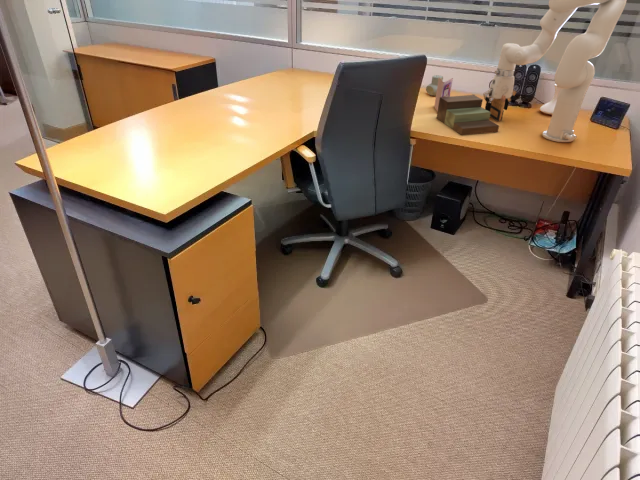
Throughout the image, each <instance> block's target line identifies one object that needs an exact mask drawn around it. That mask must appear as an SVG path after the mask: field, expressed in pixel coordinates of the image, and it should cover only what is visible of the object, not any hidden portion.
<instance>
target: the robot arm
mask: <svg viewBox="0 0 640 480" xmlns="http://www.w3.org/2000/svg"><path fill="white" fill-rule="evenodd" d="M626 4H627V0H548V7H549V9H548V10H547V11H546V13H544V15H543V16H542V17H541V18H540V21H539V25H540V27H541V31H540V33H539V35H538V36H537V37H536V39H535V40H534V41H533V42H532V43H531V44H529V45H528V44H527V45H524V46H520V44H518V43H513V42H506V43H504V44H503V45H502V46H501V47H502V48H501V50H500V54H499V60H498V63H497V69H496V70H494V74H495V75H494V76H493V78H492V80H491V83H490V87H489V89H488V90H485V92H483V94H482V95H483V100H485V102H486V103H485V106H484V109H486V110H488V111H490V108H491V101H492V100H493V99H501V98H502V95H504V96H505V105H504V109H503V110H504V111H507V110H508V109H509V104H510V102H511V101H512V99H514V97H515V95H516V94H517V90H515V89H514V86H515V76H514V74H515V70H516V66H525V65H528V64H529V65H530V64H533V63H536V62H538V61H540V59H542V57H544V55H545V54H546V53H547V52H548V51H549V49H551V47H552V45H553V44H554V42H555V39H556V38H557V34H558V32H559V31H560V30H561V29H562V27H564V25H565V23H566V22H567V21H568V20H569V19H570V18H571V16H572V15H574V13H575V12H576V11H577V10H578V8H583V7H587V6H592V5H599V7H598V9H597V11H596V12H595V13H594V14H593V16H592V17H591V20H590V23H589V25H588V26H587V28H586V31H585V32H584V33H580V34H578V35H576V36H574V37H573V38H572V39H571V40H570V41H569V42H568V44H567V45H566V48H565V50H564V52H563V54H562V56H561V59H560V61H559V64H558V65H557V67H556V70H555V73H554V82H555V83H554V84H556V85H557V86H558V87H559V88H562V89H561V91H560V93H559V96H558V99H557V102H556V105H555V108H554V111H553V114H552V115H551V118H550V121H549V124H548V128H547V130H544V131H542V132H541V133H542V134H541V136H542V137H543V138H545V140H546V139H547V140H549V141H552V142H556V143H557V142H558V143H570V142H573V141H575V139H577V138H578V136H577V135H576V134H575V130H574V127H575V125H576V122H577V119H578V116H579V114H580V111H581V108H582V104H583V103H584V99H585V97H586V94H587V92H588V89H589V87H590V86H591V84H592V82H593V79H594V77H595V73H596V71H595V70H596V68H595V66H594V64H593V63H592V62H591V61H589V60H591V59H594V58H596V57H598V56H600V55H602V53H603V52H604V51H605V48H606V46H607V44H608V42H609V40H610V38H611V36H612V35H613V32H614V30H615V27H616V26H617V23H618V21H619V19H620V17H621V16H622V13H623V12H624V10H625V7H626Z"/></svg>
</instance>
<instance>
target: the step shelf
mask: <svg viewBox="0 0 640 480" xmlns="http://www.w3.org/2000/svg"><path fill="white" fill-rule="evenodd" d="M483 100H484V98H481V97H479V96H477V95H475V94H467V95H465V94H464V95H452V96H451V95H450V97H440V100H439V106H438V112H437V111H436V112H437V113H436V119H437V120H439V121H440V122H441V123H443V124H444V125H446V126H447V127H449V128H451V129H452V130H453V131H455V132H456V133H458V134H459V135H461V136H467V135H468V136H469V135H479V134H489V133H490V134H491V133H498V131H499V127H500V125H499V124H497V123H496V122H494V121H492V120H490V118H491V117H490V114H491V112H489V111H488V110H486V109H485V107H482V105H483Z"/></svg>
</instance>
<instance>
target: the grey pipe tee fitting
mask: <svg viewBox="0 0 640 480" xmlns="http://www.w3.org/2000/svg"><path fill="white" fill-rule="evenodd" d="M439 77H440V78H441V80H442V81H443V82H444V76H443V75H438V74H436V75H435V74H434V75H432V77H431V83H429V84H427V86H426V87H425V92H426V93H427V94H428V95H429V96H431V97H436V93H437V86H438V80H439Z"/></svg>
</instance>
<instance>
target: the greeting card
mask: <svg viewBox="0 0 640 480" xmlns="http://www.w3.org/2000/svg"><path fill="white" fill-rule="evenodd" d="M453 80H454V78H453V77H452V78H450V79H448V80H445V81H444V80H443V81H442V80H441V78H440V77H439V80H438V86H437V93H436V96H435V99H434V106H433V107H434V109H435V110H436V112H438V106H439V100H440V97H450V96H451V92H452V86H453Z"/></svg>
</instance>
